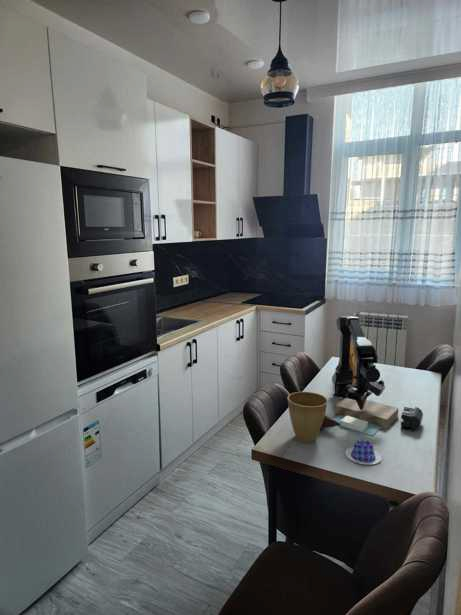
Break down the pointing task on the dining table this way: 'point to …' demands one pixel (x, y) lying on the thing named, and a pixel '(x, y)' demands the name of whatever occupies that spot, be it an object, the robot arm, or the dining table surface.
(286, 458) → the dining table surface
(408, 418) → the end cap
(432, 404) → the dining table surface
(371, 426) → the mat
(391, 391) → the dining table surface
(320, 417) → the plant pot
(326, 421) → the icecream
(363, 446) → the pudding
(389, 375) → the dining table surface
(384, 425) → the tan flat block
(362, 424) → the white box
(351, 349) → the coffee package
